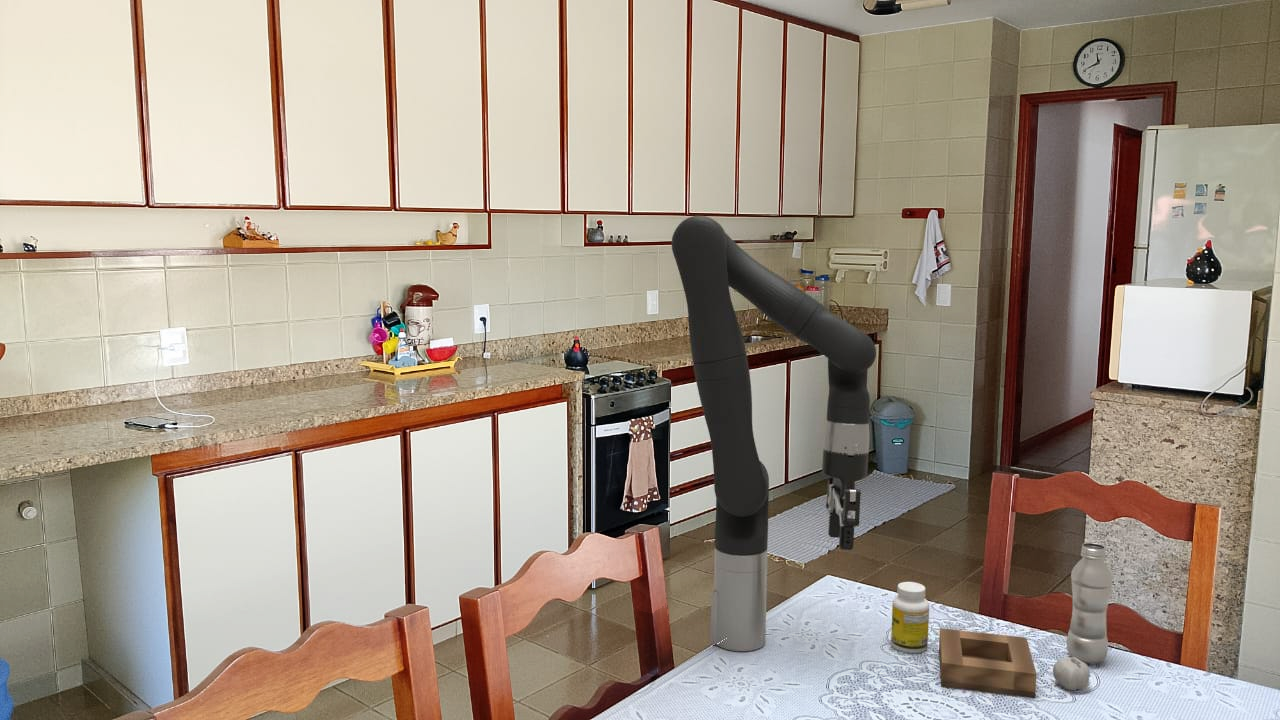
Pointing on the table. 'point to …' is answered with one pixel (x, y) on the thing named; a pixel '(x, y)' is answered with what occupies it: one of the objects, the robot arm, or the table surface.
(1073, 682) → the garlic
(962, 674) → the wooden square tray
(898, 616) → the pill bottle
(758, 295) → the robot arm
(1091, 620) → the plastic bottle
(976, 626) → the table surface
